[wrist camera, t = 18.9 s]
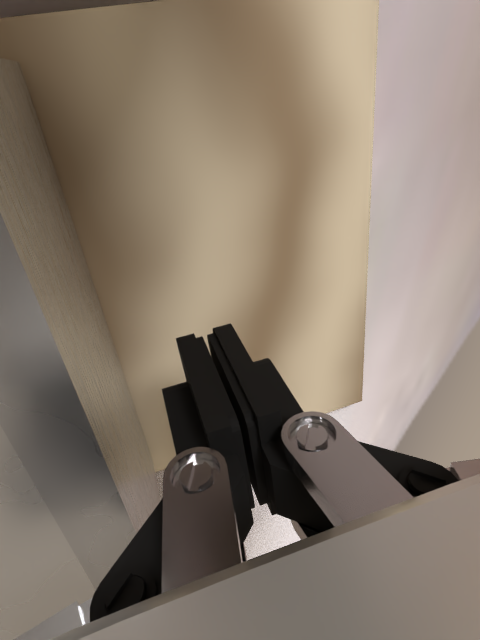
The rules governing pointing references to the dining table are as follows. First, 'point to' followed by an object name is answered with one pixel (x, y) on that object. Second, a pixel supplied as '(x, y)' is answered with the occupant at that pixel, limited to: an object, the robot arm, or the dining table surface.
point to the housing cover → (56, 394)
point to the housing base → (215, 180)
